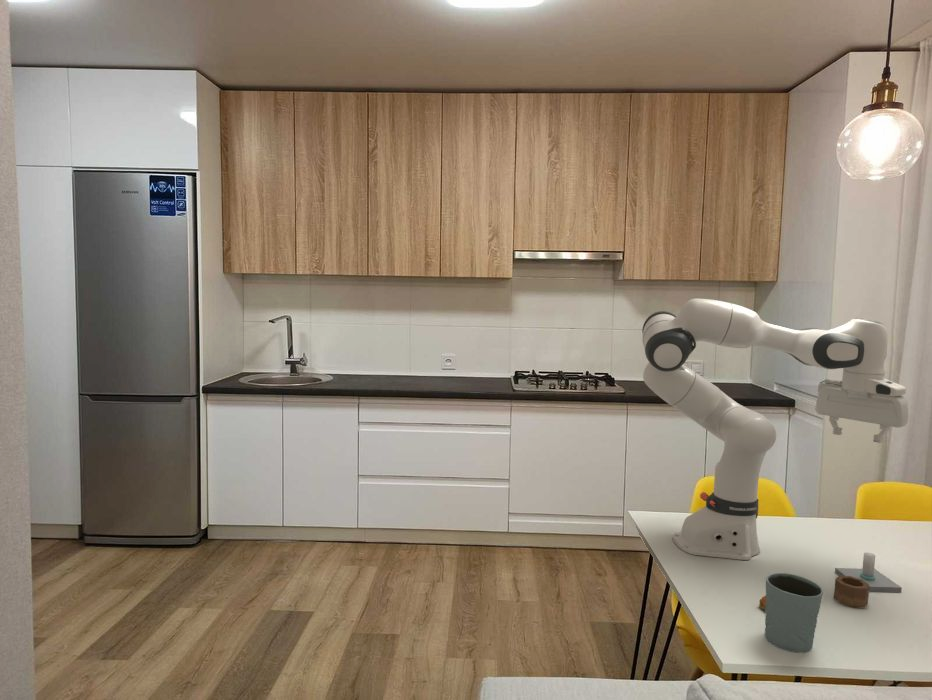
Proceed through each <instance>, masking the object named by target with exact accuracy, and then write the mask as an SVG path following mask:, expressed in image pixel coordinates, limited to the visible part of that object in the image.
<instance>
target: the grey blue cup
mask: <svg viewBox="0 0 932 700" xmlns="http://www.w3.org/2000/svg"><path fill="white" fill-rule="evenodd" d="M765 595H766V610H765V616H764V617H765V619H764V625H765V627H764V636H765V639H766V641H767V642H769V643H770V644H771V645H772V646H774V647H776V648H777V649H781V650H783V651H786V652H789V653H798V654H799V653H801V654H802V653H808V652H810V651H811V650H812V648H813V644H814V638H815V633H816V628H817V623H818V617H819V616H818V615H819V613H820V609H821V604H822V600H823V595H824V590H823V588H822V586H820V585H819V584H818V583H817V582H815V581H812V580H810V579H808V578H806V577H804V576H799V575H795V574H791V573H786V572H785V573H784V572H775V573H770V574H768V575H767V576H766V577H765Z"/></svg>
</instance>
